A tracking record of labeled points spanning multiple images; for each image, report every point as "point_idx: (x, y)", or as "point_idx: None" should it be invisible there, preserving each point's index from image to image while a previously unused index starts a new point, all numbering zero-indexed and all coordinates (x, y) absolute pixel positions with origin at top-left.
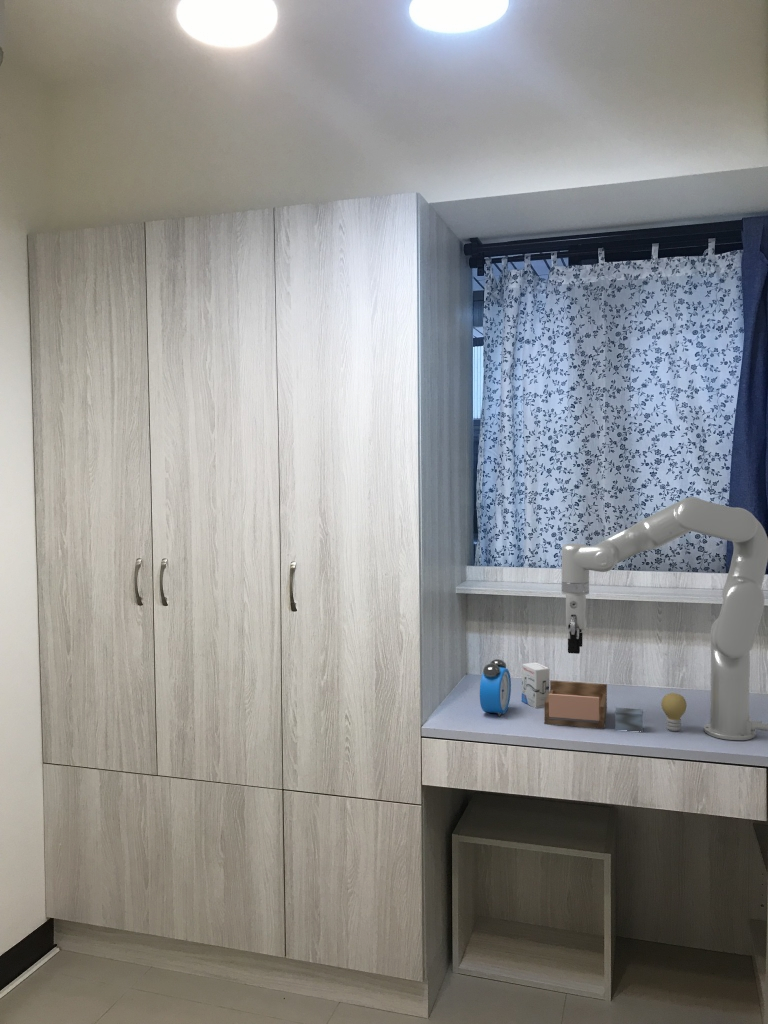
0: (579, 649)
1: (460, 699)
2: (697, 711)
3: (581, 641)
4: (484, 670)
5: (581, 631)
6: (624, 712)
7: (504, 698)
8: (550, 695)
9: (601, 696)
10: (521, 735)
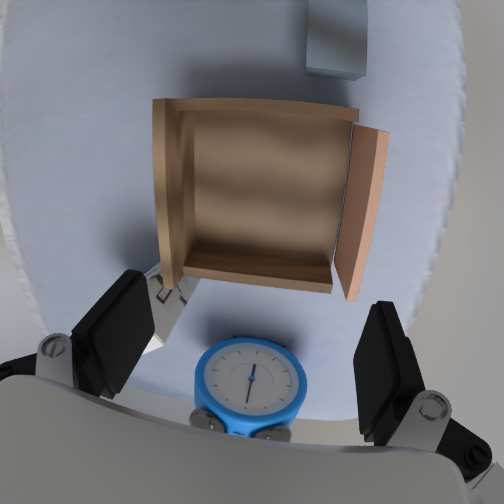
0: (398, 319)
1: (190, 390)
2: None
3: (127, 296)
4: None
5: (71, 345)
6: (362, 47)
7: (241, 358)
8: (356, 294)
9: (181, 115)
10: (412, 305)
